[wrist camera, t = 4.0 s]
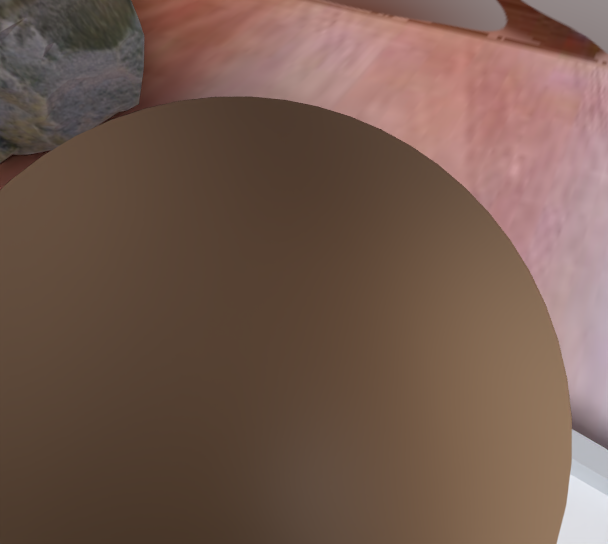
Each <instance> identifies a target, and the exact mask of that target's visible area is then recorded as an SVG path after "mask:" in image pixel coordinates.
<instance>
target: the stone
mask: <svg viewBox="0 0 608 544" xmlns="http://www.w3.org/2000/svg"><path fill="white" fill-rule="evenodd" d="M143 70H144V34H143V31H142V28H141V24H140V21H139V18H138V16H137V14H136V11H135V9H134V6H133V4H132V1H131V0H0V163H1V162H2V161H4V160H5V159H7V158H8V157H10V156H11V155H13V154H15V155H24V154H34V153H40V152H45V151H49V150H53V149H55V148H57V147H58V146H60V145H62V144H63V143H65V142H67V141H68V140H70V139H71V138H73V137H75V136H77V135H79V134H81V133H83V132H86V131H88V130H90V129H92V128H94V127H96V126H98V125H99V124H101V123H103V122H104V121H106V120H107V119H109V118H110V117H112V116H113V115H115V114H116V113H118V112H121V111H126V110H129V109H131V108H132V107H134V106H136V105H138V104H139V99H140V92H141V84H142V78H143Z"/></svg>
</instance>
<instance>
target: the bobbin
mask: <svg viewBox="0 0 608 544" xmlns="http://www.w3.org/2000/svg"><path fill="white" fill-rule="evenodd" d="M571 463H572V417H571V408H570V399H569V390H568V382H567V376H566V372H565V367H564V363H563V359H562V354H561V350H560V346H559V341H558V338H557V335H556V333H555V330H554V327H553V324H552V321H551V318H550V316H549V313H548V310H547V307H546V304H545V302H544V300H543V298H542V296H541V294H540V292H539V290H538V288H537V286H536V284H535V281H534V279H533V277H532V275H531V273H530V271H529V269H528V268H527V266H526V265H525V263H524V261H523V260H522V258H521V256H520V255H519V253H518V252H517V250H516V248H515V247H514V245H513V244H512V242H511V240H510V239H509V238H508V236H507V235H506V234H505V233H504V231H503V230H502V229H501V227H500V226H499V225H498V224H497V222H496V221H495V220H494V218H493V217H492V216H491V215H490V213H489V212H488V211H487V210H486V209H485V208H484V207H483V206H482V205H481V204H480V203H479V202H478V201H477V200H476V198H475V197H474V196H473V195H472V194H471V193H470V192H469V191H468V190H467V189H466V188H465V187H464V186H463V185H462V184H460V183H459V182H458V181H457V180H456V179H454V178H453V177H452V176H451V175H450V174H449V173H447V172H446V171H445V170H444V169H443V168H442V167H440V166H439V165H438V164H436V163H435V162H433V161H432V160H431V159H429V158H428V157H426V156H425V155H423V154H422V153H420V152H419V151H418V150H416V149H415V148H413V147H412V146H410V145H408V144H406V143H405V142H403V141H401V140H399V139H397V138H396V137H394V136H392V135H390V134H388V133H386V132H385V131H383V130H381V129H378V128H376V127H374V126H371V125H369V124H367V123H364V122H362V121H360V120H357V119H355V118H353V117H350V116H347V115H344V114H340V113H337V112H334V111H331V110H327V109H324V108H321V107H317V106H312V105H308V104H303V103H298V102H293V101H288V100H280V99H270V98H260V97H210V98H201V99H192V100H183V101H177V102H173V103H168V104H164V105H159V106H154V107H150V108H145V109H142V110H139V111H136V112H133V113H130V114H127V115H124V116H121V117H118V118H115V119H112V120H110V121H107V122H105V123H103V124H101V125H99V126H96V127H94V128H92V129H90V130H88V131H86V132H83V133H81V134H79V135H77V136H75V137H73V138H71V139H70V140H68V141H67V142H65V143H63V144H62V145H60V146H58V147H57V148H55V149H53V150H52V151H50V152H48V153H47V154H45V155H43V156H42V157H40V158H39V159H38V160H36V161H35V162H34V163H32V164H31V165H30V166H29V167H27V168H26V169H25V170H23V171H22V172H21V173H19V174H18V175H17V176H16V177H14V178H13V179H12V180H10V181H9V182H8V183H7V184H6V185H5V186H4V187H3V188H2V189H1V190H0V544H557V540H558V536H559V532H560V528H561V524H562V520H563V516H564V512H565V508H566V503H567V495H568V487H569V479H570V471H571Z"/></svg>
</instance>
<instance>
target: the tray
mask: <svg viewBox="0 0 608 544" xmlns="http://www.w3.org/2000/svg"><path fill="white" fill-rule="evenodd" d="M557 544H608V450H607V449H606V448H604V447H602V446H601V445H599V444H597V443H595V442H594V441H592V440H590V439H588V438H587V437H585V436H583V435H582V434H580V433H578V432H576V431H575V430H573V429H572V463H571V471H570V479H569V487H568V495H567V503H566V508H565V512H564V516H563V520H562V524H561V528H560V532H559V536H558V540H557Z"/></svg>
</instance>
